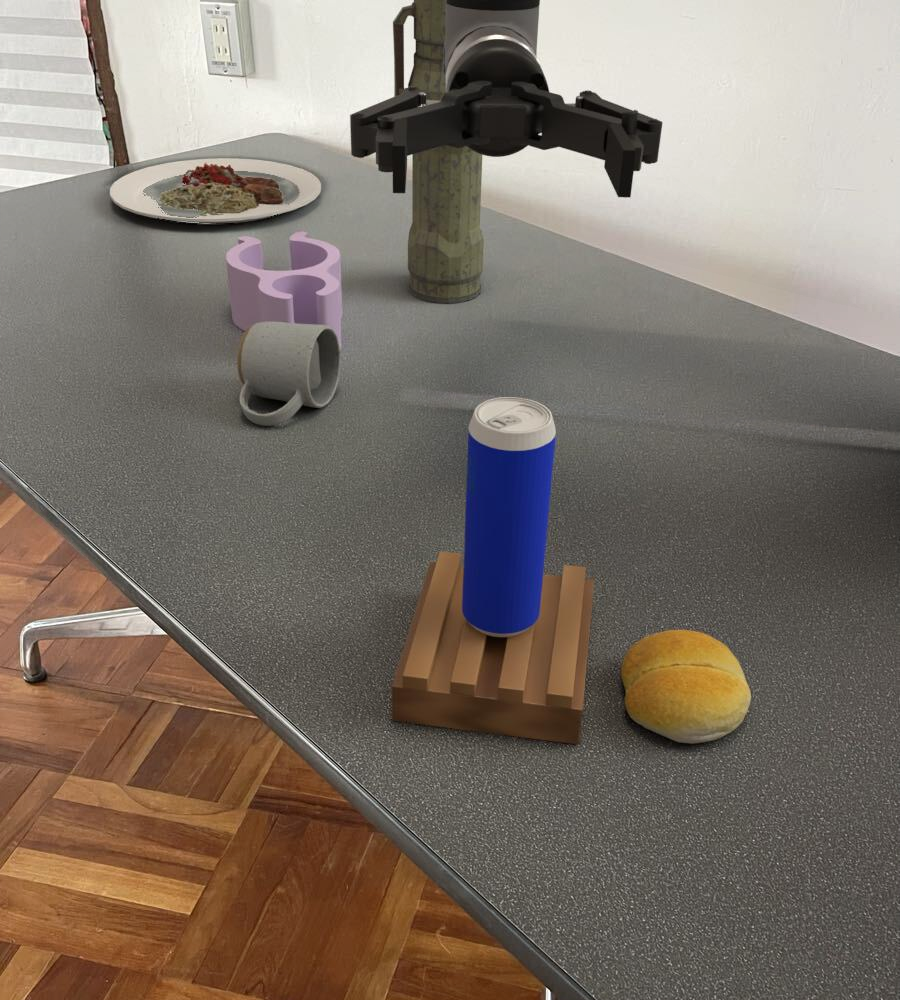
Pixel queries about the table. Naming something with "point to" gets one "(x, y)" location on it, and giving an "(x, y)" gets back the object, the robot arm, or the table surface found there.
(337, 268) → the clip
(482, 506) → the beverage can
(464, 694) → the rack
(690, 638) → the bread roll
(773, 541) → the table surface
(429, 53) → the olive green vase
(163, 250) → the table surface
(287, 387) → the ceramic mug
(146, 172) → the plated food
